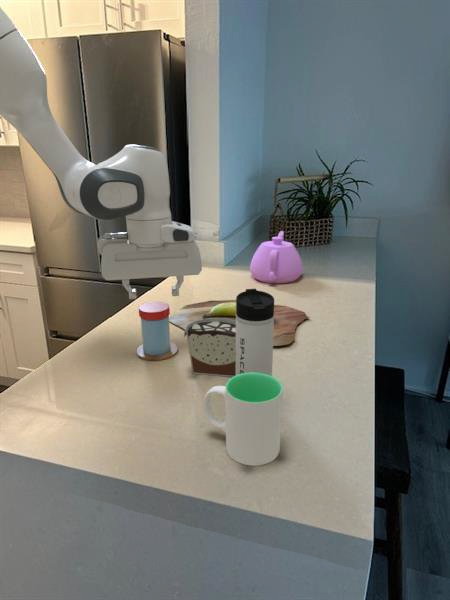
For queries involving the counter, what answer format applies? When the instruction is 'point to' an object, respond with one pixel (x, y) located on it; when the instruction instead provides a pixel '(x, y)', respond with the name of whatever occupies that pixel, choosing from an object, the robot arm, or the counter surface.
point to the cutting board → (226, 309)
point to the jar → (155, 336)
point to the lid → (154, 310)
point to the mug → (250, 417)
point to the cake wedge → (212, 346)
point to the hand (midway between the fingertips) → (154, 296)
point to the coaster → (167, 355)
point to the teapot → (276, 261)
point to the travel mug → (254, 332)
